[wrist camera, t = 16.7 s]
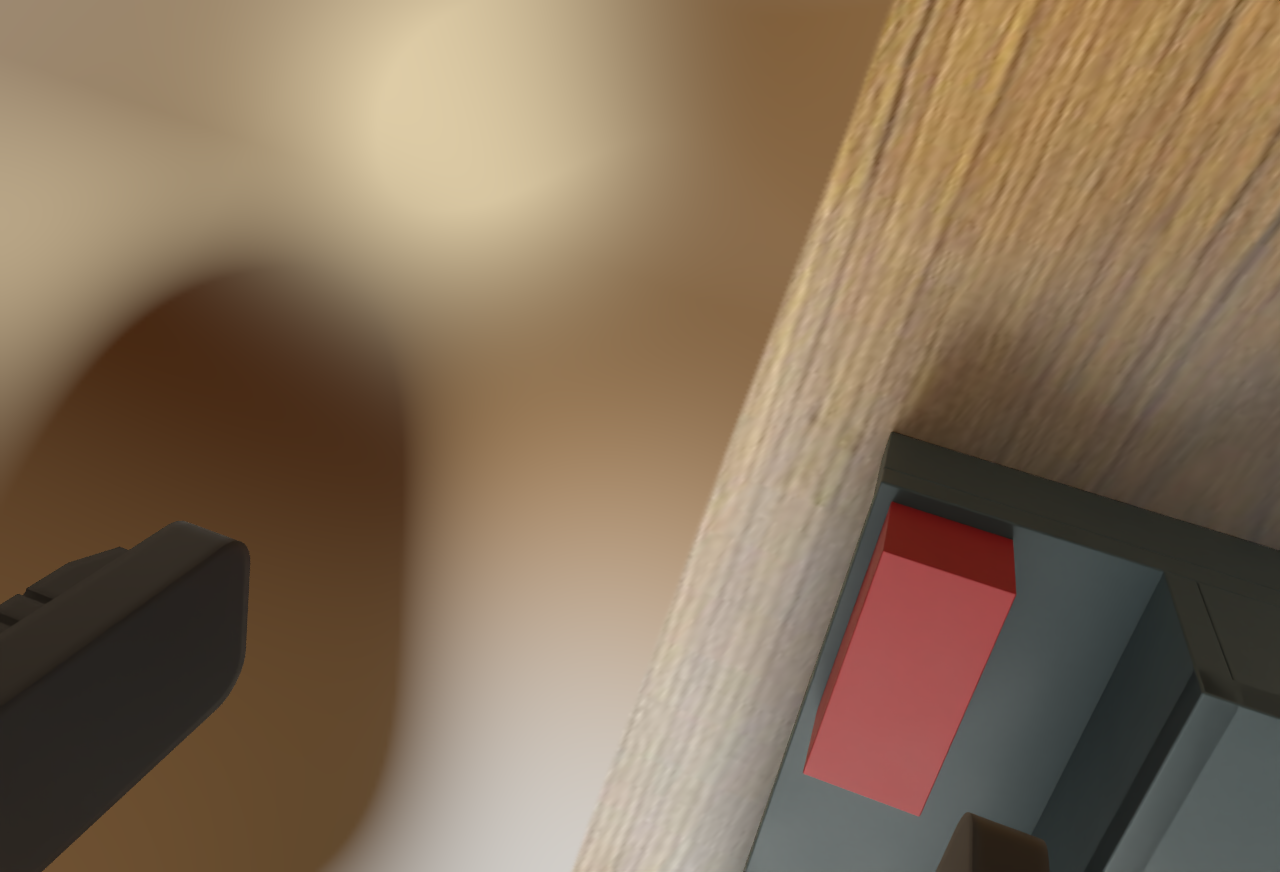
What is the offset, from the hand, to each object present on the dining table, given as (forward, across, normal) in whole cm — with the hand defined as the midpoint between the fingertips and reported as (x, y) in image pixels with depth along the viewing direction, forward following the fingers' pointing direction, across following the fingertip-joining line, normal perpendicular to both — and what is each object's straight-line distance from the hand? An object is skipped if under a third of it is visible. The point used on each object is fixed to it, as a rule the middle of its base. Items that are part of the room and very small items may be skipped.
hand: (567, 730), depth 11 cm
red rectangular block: (+24, -6, +12) cm, 27 cm away
